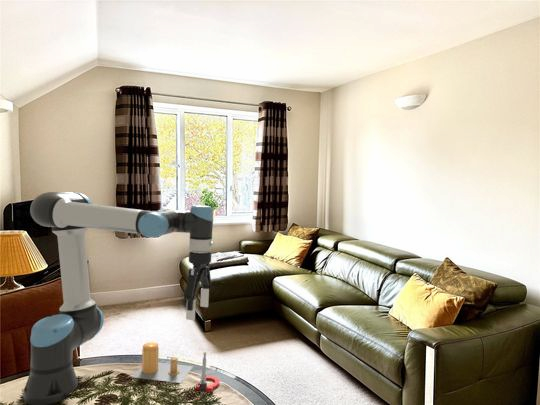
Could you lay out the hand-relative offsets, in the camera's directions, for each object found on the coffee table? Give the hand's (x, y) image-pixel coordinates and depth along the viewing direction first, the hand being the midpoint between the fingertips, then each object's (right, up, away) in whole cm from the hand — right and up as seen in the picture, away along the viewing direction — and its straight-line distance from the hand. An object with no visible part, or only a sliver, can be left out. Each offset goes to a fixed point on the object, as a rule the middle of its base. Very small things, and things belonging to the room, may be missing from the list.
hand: (197, 312), depth 125 cm
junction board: (-14, -24, +6) cm, 28 cm away
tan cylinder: (-18, -23, +7) cm, 30 cm away
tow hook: (+3, -25, +1) cm, 26 cm away
